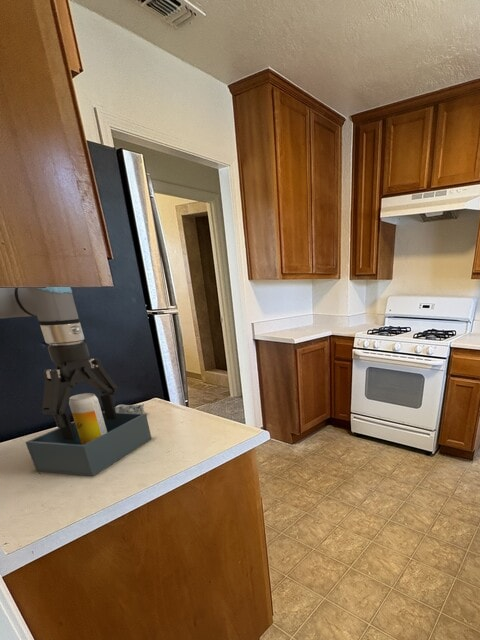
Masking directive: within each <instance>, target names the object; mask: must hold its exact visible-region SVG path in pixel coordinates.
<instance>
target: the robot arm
mask: <svg viewBox="0 0 480 640" xmlns="http://www.w3.org/2000/svg"><path fill="white" fill-rule="evenodd" d="M26 317H37V320H38V323H39V326H40V329H41V332H42V335H43V339H44V342H45V344H48V346H47V350H48V353H49V357H50V359H51V361H52V362H53V363H54V365H55V369H44V370H42V371H43V372H42V373H43V378H44V389H43V395H42V396H43V397H42V405H41V406H42V407H41V413H42V414H43V415H51V416H52V417H53V419H54V421H55V422H54V423H55V425H56V427H57V428H60V429H61V432H62V435H63V438H64V439H67V440H75V439H76V436H75V433H74V430H73V427H72V424H71V422H72V421H71V418H70V414H69V412H65V411H66V407H67V405H68V403H69V400H70V399H69V398H70V397H71V396H70V395H71V392H72V390H73V388H74V387H75V385H79V384H81V383H82V382H85V383H88V384H89V385H90V386H91V387H93V388H94V389H96V390H97V391H98V393H101V394H102V395H100V396H99V397H100V400H101V404H102V407H103V412H105V415H106V418H107V419H114V420H116V419H117V415H116V411H115V408H114V407H116V405H115V404H116V403H115V400H114V396H115V395H116V391H117V390H118V386H117V385H116V383H115V382H114V381H113V380H112V378H111V377H110V375H109V374H108V373H107V371H106V370H105V369H104V367H103V365H102V362H101V360H100V359H99V358H90V351H89V349H88V344H87V343H86V342H84V341H85V338H86V337H85V335H84V332H83V328H82V324H81V321H80V318H79V314H78V311H77V306H76V303H75V300H74V295H73V289H72V288H71V286H70V287H46V288H0V320H1V319H11V318H12V319H13V318H26Z"/></svg>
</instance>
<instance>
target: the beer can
mask: <svg viewBox="0 0 480 640" xmlns="http://www.w3.org/2000/svg"><path fill="white" fill-rule="evenodd" d="M68 405H69V409H70V411H71V414H72V418H73V421H75V424H76V427H77V431H78V434H79V437H80V440H81V443H82V445H84V444H86V443H88V442H90V441H92V440H94V439H96V438H98V437H100V436H102V435H103V434H105V433H107V429H106V426H105V422H104V419H103V415H102V412H103V411H102V408H101V404H100V401H99V398H98V397H97V395H96V394H95V393H92V392H91V393H90V392H89V393H88V392H85V393H79V394H75V395H72V396H69V399H68Z"/></svg>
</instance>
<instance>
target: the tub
mask: <svg viewBox="0 0 480 640" xmlns="http://www.w3.org/2000/svg"><path fill="white" fill-rule="evenodd" d="M102 415H103V419H104V422H105V426H106V429H107V433H105V434H103V435H102V436H100V437H98V438H96V439H94V440H92V441H90V442H88V443H86V444H84V445H82V443H81V440H80V437H79V434H78V431H77V427H76V424H75V421H74V420H73V421H71V424H72V427H73V430H74V433H75V436H76V439H75V440H67V439H64V438H63V435H62V432H61V429H60V428H58V427H57V428H55V429H52V430H51V431H48V432H46V433H43V434H41V435H39V436H35V437H34V438H31V439H29V440H26V441H25V445H26V448H27V451H28V454H29V455H30V458H31V460H32V463H33V466H34V468H35V471H36V472H42V473H43V472H44V473H54V474H65V475H77V476H87V477H94V476H95V475H97V474H98V473H100V472H102V471H103V470H105V469H107V468H109V467H110V466H111V465H113V464H114V463H116V462H118V461H119V460H120V459H122V458H124V457H125V456H127V455H129V454H130V453H132V452H133V451H135V450H136V449H138V448H140V447H141V446H143V445H144V444H147V442H149V441H150V440H152V439H153V438H152V434H151V429H150V425H149V422H148V416H147V413H145V414H139V413H120V412H116V415H117V419H116V420H114V419H107V418H106V415H105V411H102Z"/></svg>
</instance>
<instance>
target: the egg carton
mask: <svg viewBox="0 0 480 640" xmlns="http://www.w3.org/2000/svg"><path fill="white" fill-rule="evenodd" d="M144 406H145V403H141V404H123V403H122V404H118V405H115V406H114V408H115V411H116V412H120V413H139V414H146V412H145V409H144Z"/></svg>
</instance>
